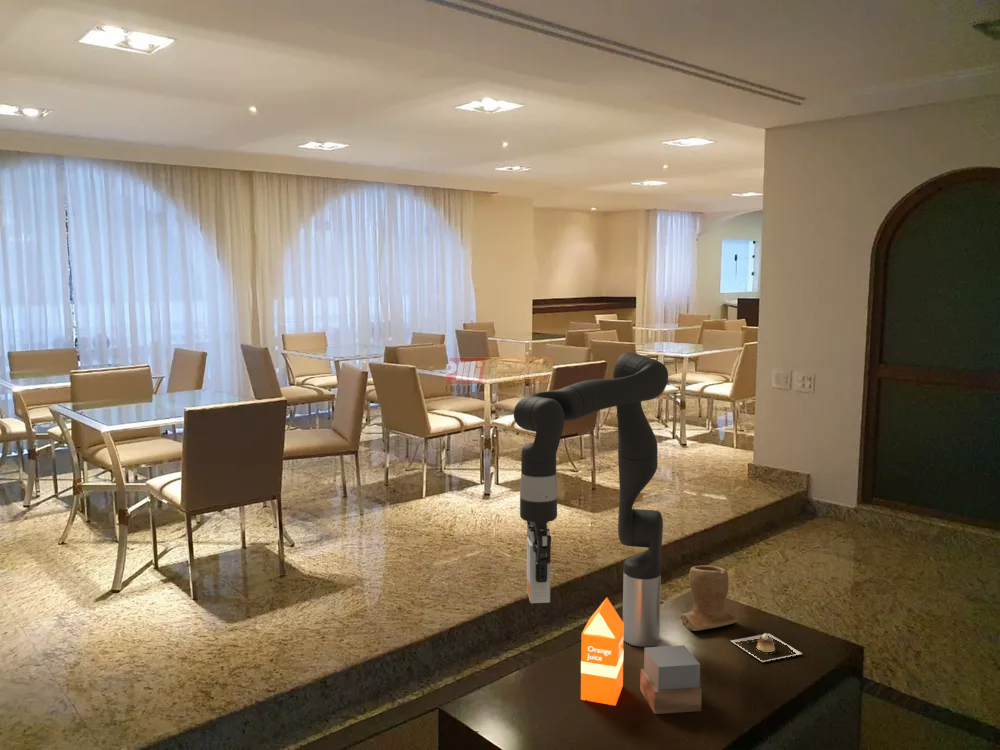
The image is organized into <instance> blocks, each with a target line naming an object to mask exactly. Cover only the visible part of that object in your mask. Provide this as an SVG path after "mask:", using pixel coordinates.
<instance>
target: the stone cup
mask: <svg viewBox="0 0 1000 750" xmlns="http://www.w3.org/2000/svg"><path fill="white" fill-rule="evenodd" d="M688 582H689V589H690V592H691V597H692V602H693V605H692V606H693V607H692V609H691V610H690V611H688V612H686V613H685V612H684V613H682V614H680V615H679V618H680V619H681V621H682V623H683V625H684V626H685V627H686V628H687V629H689V631H692V632H693V631H694V632H696V631H697V632H698V631H705V630H710V629H716V628H720V627H726V626H728V625H732V624H735V623H738V618H736V616H734V615H733V614H731V613H730V612H728V611H726V610H725V603H726V599H727V596H728V592H729V587H730V586H729V584H730V583H729V582H730V581H729V575H728V571H727V570H726V569H725V568H723V567H719V566H714V565H696V566H692V567H690V570H689V574H688Z"/></svg>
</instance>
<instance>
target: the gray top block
mask: <svg viewBox="0 0 1000 750" xmlns="http://www.w3.org/2000/svg"><path fill="white" fill-rule="evenodd" d="M643 651H644V653H643V654H644V655H643V656H644V657H643V659H644V660H643V661H644V662H643V669H644V670H645V672H646V673H647V675H648V676H649V678H650V679H651V681H652V682H653V684H654V685H655V686H656V688H657V689H658V690H669V689H684V688H699V687H700V688H701V684H700V683H701V682H700V681H701V680H700V679H701V663H700V662H699V661H698V660H697V659H696V657H694V655H693V654H692V653H691V652H690V650H689V649H688V648H687V647H686V646H685V645H684V644H683V645H667V646H666V645H665V646H648V647H644V649H643Z"/></svg>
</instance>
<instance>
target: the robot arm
mask: <svg viewBox="0 0 1000 750" xmlns="http://www.w3.org/2000/svg"><path fill="white" fill-rule="evenodd" d="M617 358H618V359H617V360H616V362H615V364H614V368H613V373H612V378H600V379H599V378H598V379H587V380H583V381H580V382H579V381H578V382H576V383H572V384H570V385H567V386H564V387H562V388H559V389H553V390H547V391H541V392H536V393H531V394H528V395H525V396H523V397H522V398H521V399H520V400H519V401H517V403H516V404H515V406H514V409H513V419H514V421H515V424H516V425H517V426H519V428H521V429H523V430H526V431H530V432H534V433H535V436H534V441H533V442H531V443H530V442H529V443H527V444H525V445H524V446H523V447H522V448H521V453H520V454H521V457H520V459H521V461H520V462H521V466H520V467H521V469H520V470H521V474H520V483H519V517H520V519H521V520H523V521H525V522H526V531H527V532H526V534H527V536H526V538H527V537H528V538H529V539H530V538H531V542H532V546H533V552H534V553H535V563H536V581H537V582H538V583H539V582H546V581H547V564H550V565H551V563H552V561H551V554H552V553H551V549H552V546H551V545H552V535H551V531H550V528H548V525H547V524H548V523H550V522H553V521H555V520H556V519H557V517H558V480H557V452H558V449H559V447H560V442H561V438H562V434H563V431H564V426H565V422H566V421H567V422H569V421H574V420H575V421H576V420H577V419H580V418H582V417H585V416H588V415H590V414H592V413H595V412H599V411H601V410H604V409H605V410H606V409H609V408H613V407H615V408H616V416H617V435H618V437H617V440H618V441H617V442H618V443H617V444H618V445H617V462H618V480H619V482H618V483H619V496H618V497H619V498H618V499H619V500H618V517H617V520H618V523H617V532H618V534H617V535H618V540H619V542H620V544H622V545H623V546H627V547H636V548H647V550H645V551H644V552H642V553H640V554H636V555H632V556H630V557H628V558H626V559H625V560H624V562H623V568H622V569H623V570H622V571H623V574H622V575H623V576H622V578H623V582H622V588H623V589H622V622H623V623H624V641H623V642H625V643H626V642H627V643H626V644H628V643H629V644H628V645H631V646H635V647H642V648H643V647H644V648H646V647H654V646H656V645H657V644H658V643H659V642H660V633H661V632H660V629H661V622H660V621H661V582H662V581H661V580H662V578H661V577H662V576H661V575H662V545H663V544H662V543H663V535H664V534H663V532H664V521H663V520H664V519H663V515H662V513H661V512H660V511H658V510H655V509H654V510H653V509H640V508H639V509H638V508H633V506H634V504H635V502H636V499H637V498H638V496H639V495H640V493H641V492H642V491H643V490H644V489H645V488H646V487H647V485H648V484H649V483H650V481H652V479H653V477H654V476H655V474H656V472H657V469H658V463H659V462H658V456H659V455H658V454H659V453H658V450H659V449H658V448H659V447H658V442H657V438H656V436H655V433H654V431H653V428H652V426H651V424H650V422H649V421H648V419H647V417H646V414H645V413H644V410H643V407H642V402H645V401H651V400H654V399H656V398H658V397H659V396H661V395H662V394H663V392H664V391H665V389H666V388H667V385H668V381H669V370H668V368H667V367H666V365H665V364H663V363H662V362H660V361H658V360H657V359H654V358H651V357H648V356H645V355H643V354H638V353H635V352H624V353H622V354H621V355H619V357H617ZM535 544H536V545H537V548H536V546H535ZM541 554H545V558H541Z"/></svg>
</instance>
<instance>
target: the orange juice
mask: <svg viewBox="0 0 1000 750" xmlns="http://www.w3.org/2000/svg"><path fill="white" fill-rule="evenodd" d="M624 642H625V641H624V623H623V619H622V618H621V617H620V616H619V614H618V612H617V611H616V609H615V607H614V606H613V604H612V603H611V602H610V600H609V598H608V597H606V598H605V599H604V600H603V601H602V603H601V604H600V605H599V607H598V608H597V609H596V611H594V613H593V614H592V615H591V617H590V618H589V619H588V621H587V623H586V625H585V626H584V629H583V631H582V632H581V647H580V648H581V651H580V652H581V654H580V655H581V657H580V700H582V701H586V700H587V702H593V703H598V704H599V703H600V704H605V705H610V706H616V705H617V702H618V701H619V697H620V695H621V692H622V689H623V686H624V685H623V684H624V681H623V680H624V654H625V653H624Z"/></svg>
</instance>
